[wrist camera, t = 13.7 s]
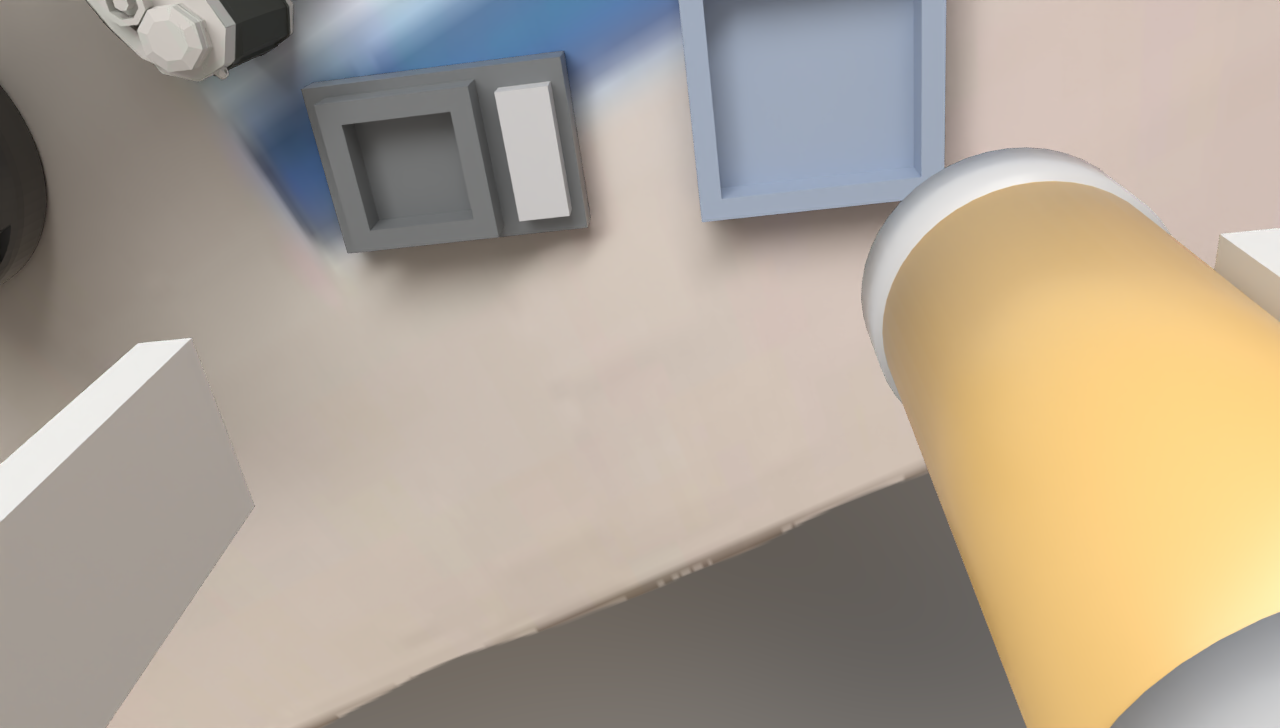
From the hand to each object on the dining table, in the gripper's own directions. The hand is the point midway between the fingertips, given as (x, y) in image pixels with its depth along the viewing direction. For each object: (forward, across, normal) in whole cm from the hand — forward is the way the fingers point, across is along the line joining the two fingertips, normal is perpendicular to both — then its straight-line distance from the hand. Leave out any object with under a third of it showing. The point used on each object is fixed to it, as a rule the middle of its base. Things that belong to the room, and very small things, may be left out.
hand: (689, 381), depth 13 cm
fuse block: (+35, -12, -5) cm, 37 cm away
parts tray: (+35, +5, -4) cm, 35 cm away
